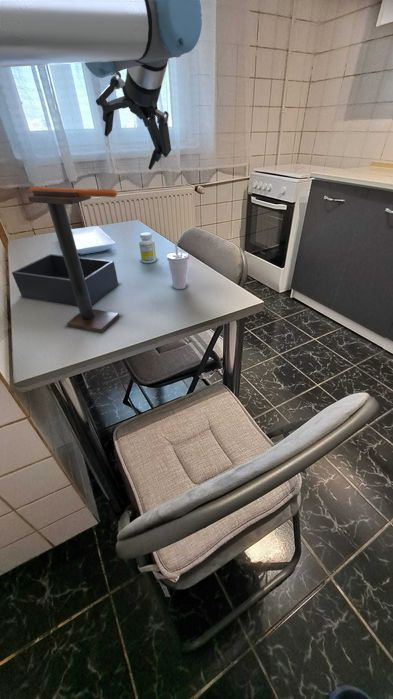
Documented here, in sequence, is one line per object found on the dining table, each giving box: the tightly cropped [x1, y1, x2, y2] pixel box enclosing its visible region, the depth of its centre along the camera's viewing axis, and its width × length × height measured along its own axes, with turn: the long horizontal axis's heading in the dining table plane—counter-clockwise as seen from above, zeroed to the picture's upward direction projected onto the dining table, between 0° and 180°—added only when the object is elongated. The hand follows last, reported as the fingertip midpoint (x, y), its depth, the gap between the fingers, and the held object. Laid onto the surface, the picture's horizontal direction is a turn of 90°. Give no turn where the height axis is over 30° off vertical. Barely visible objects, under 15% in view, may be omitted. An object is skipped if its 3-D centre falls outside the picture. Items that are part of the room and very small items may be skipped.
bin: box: [11, 253, 119, 307], centre depth 88 cm, size 24×16×8 cm, turn 71°
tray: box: [71, 225, 116, 256], centre depth 125 cm, size 17×31×4 cm, turn 28°
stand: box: [27, 190, 120, 333], centre depth 66 cm, size 10×8×30 cm
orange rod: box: [28, 186, 118, 198], centre depth 56 cm, size 20×1×1 cm, turn 71°
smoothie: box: [166, 238, 190, 290], centre depth 86 cm, size 6×6×14 cm
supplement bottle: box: [138, 231, 157, 264], centre depth 106 cm, size 5×5×10 cm
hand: (130, 149), depth 82 cm, fingers open, 13 cm apart
